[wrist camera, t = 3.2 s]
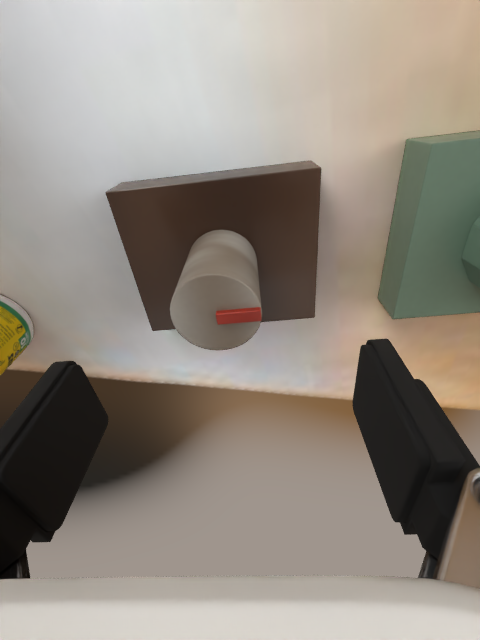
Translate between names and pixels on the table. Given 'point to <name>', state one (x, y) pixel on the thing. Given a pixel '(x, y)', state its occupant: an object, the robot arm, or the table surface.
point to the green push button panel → (435, 230)
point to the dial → (218, 292)
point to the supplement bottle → (13, 331)
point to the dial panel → (224, 214)
